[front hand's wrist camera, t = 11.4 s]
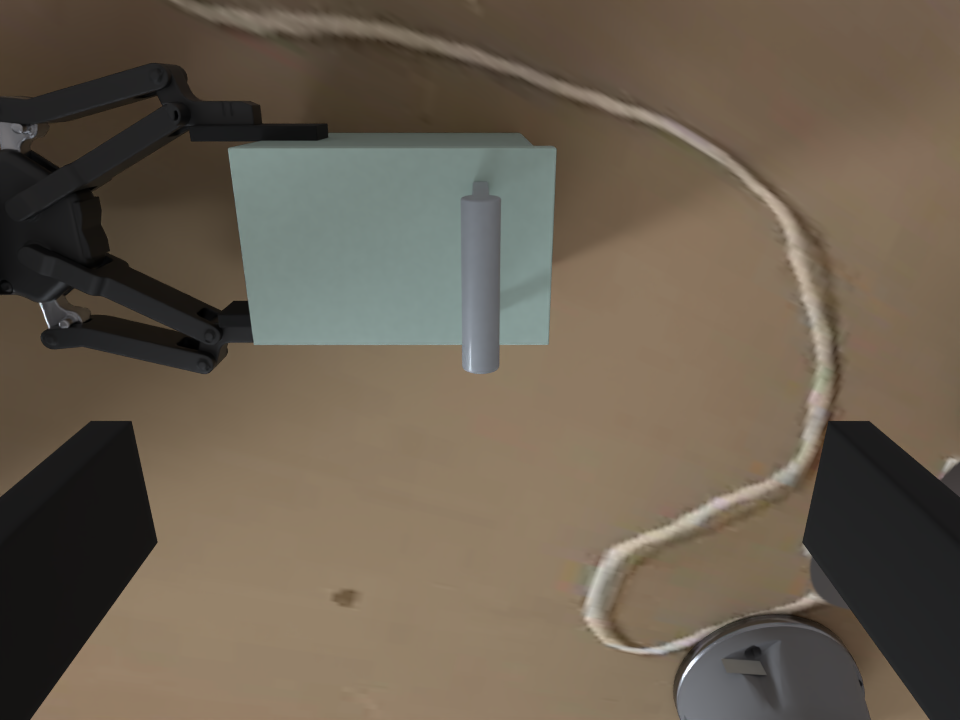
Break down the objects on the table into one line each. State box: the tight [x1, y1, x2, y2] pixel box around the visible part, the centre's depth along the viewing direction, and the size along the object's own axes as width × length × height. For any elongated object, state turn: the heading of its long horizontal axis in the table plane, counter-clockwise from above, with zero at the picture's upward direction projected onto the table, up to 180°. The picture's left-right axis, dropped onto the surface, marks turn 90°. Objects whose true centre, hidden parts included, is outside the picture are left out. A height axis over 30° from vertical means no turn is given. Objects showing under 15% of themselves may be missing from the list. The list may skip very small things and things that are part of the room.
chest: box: [239, 133, 533, 146], centre depth 38 cm, size 14×9×11 cm
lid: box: [228, 146, 557, 374], centre depth 29 cm, size 15×9×8 cm, turn 90°
